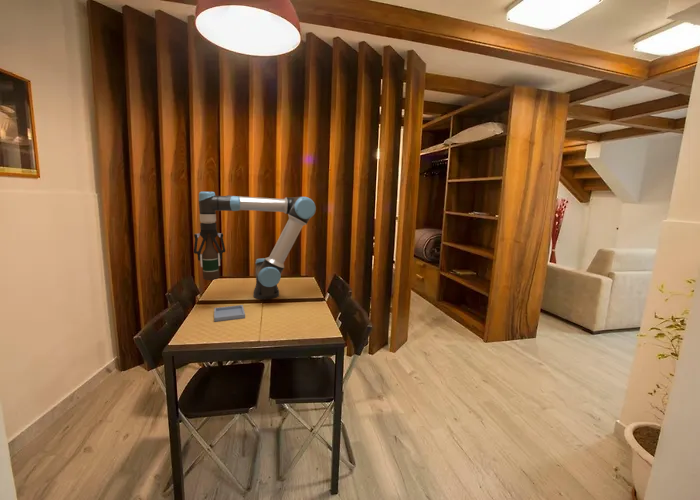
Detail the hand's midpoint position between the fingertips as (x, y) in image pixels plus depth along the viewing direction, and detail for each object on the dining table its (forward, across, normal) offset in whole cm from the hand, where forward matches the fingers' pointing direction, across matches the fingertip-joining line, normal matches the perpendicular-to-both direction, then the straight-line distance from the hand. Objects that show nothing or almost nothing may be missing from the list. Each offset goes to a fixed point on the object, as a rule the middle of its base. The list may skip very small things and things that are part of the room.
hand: (210, 265), depth 163 cm
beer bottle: (+7, 0, 0) cm, 7 cm away
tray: (+23, -8, +13) cm, 28 cm away
